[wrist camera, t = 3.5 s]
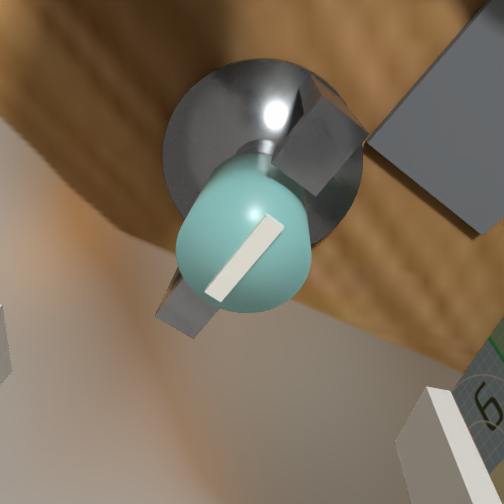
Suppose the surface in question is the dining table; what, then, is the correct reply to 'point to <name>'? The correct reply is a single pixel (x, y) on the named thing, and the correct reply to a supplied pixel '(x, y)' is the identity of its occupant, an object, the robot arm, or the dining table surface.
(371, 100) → the dining table surface
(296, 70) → the grey metal piece
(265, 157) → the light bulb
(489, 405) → the printed tall block
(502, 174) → the coaster
